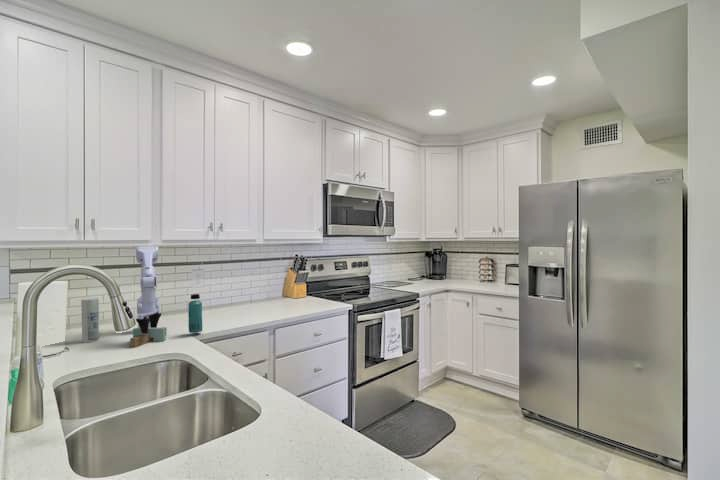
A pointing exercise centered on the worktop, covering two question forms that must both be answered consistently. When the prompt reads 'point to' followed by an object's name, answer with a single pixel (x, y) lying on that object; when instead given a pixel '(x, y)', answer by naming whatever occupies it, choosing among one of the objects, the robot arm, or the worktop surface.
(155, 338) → the slotted plate
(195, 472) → the worktop surface
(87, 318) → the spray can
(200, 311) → the beverage bottle
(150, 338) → the slotted board
